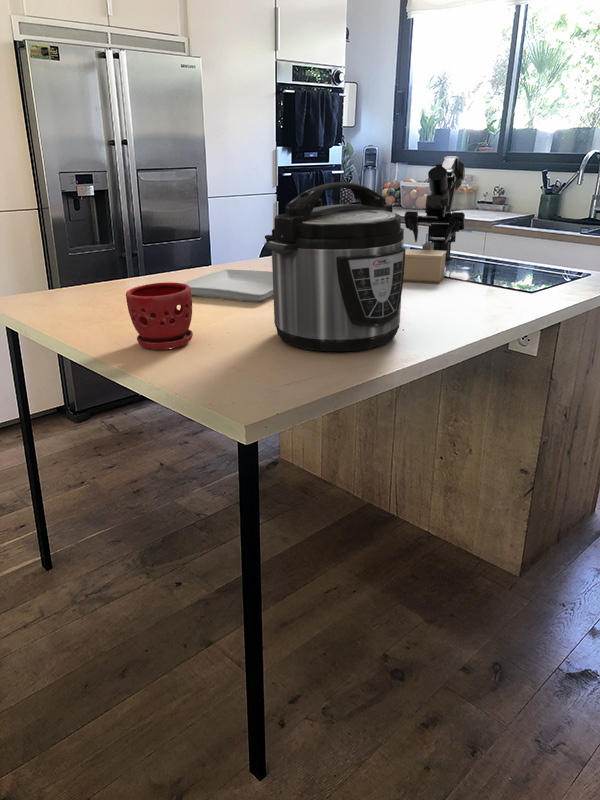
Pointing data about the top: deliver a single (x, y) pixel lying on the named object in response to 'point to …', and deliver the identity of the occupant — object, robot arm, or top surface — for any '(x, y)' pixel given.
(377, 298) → the pressure cooker
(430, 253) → the lid
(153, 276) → the top surface
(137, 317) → the plant pot
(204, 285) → the square plate
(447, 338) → the top surface
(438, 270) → the carton
